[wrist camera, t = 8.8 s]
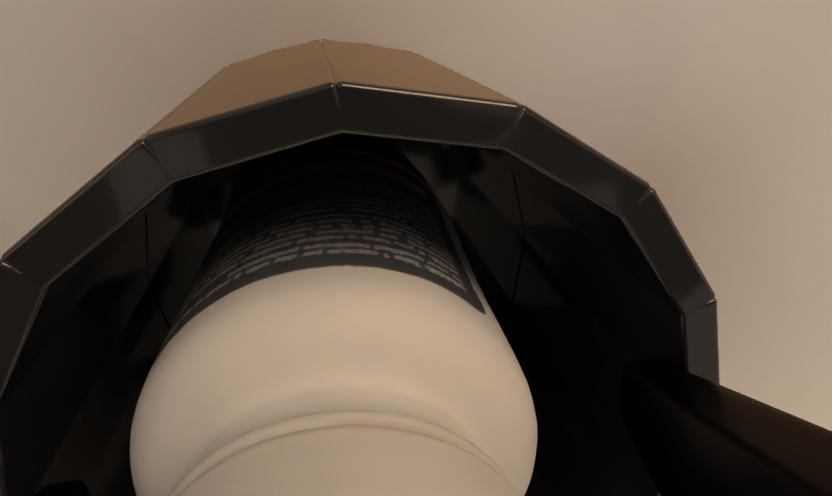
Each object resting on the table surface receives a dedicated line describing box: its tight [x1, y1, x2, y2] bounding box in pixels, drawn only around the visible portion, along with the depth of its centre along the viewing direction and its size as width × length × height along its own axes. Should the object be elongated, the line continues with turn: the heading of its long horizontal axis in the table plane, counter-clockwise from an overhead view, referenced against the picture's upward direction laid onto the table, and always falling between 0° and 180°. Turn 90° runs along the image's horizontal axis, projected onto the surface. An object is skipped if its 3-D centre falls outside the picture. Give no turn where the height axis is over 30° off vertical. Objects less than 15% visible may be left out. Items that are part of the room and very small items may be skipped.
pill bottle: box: [130, 149, 538, 496], centre depth 9 cm, size 5×5×9 cm
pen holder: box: [0, 39, 720, 496], centre depth 11 cm, size 9×9×7 cm
